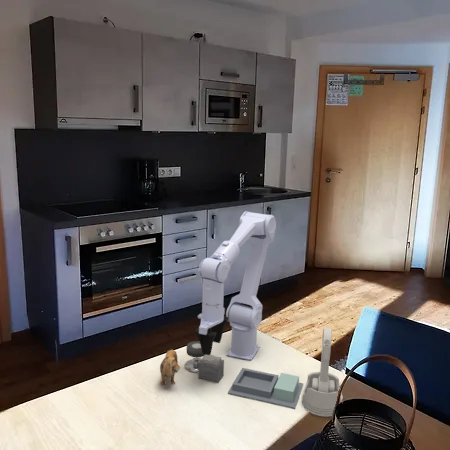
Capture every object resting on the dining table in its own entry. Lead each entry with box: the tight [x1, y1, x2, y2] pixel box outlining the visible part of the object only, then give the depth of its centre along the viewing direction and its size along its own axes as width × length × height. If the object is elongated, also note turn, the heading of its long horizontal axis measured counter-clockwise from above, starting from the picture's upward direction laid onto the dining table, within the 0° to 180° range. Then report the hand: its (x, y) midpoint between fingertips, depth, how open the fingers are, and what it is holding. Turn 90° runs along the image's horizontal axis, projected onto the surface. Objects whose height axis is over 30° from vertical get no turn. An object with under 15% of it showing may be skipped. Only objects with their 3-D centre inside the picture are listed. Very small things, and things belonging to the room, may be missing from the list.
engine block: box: [197, 354, 225, 384], centre depth 131 cm, size 4×6×6 cm
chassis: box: [227, 367, 304, 410], centre depth 126 cm, size 12×18×3 cm, turn 71°
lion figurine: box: [159, 349, 181, 386], centre depth 130 cm, size 15×5×9 cm, turn 8°
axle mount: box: [184, 357, 202, 374], centre depth 137 cm, size 7×7×2 cm
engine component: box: [301, 326, 344, 417], centre depth 119 cm, size 11×20×10 cm
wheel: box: [186, 340, 205, 358], centre depth 136 cm, size 6×6×2 cm
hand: (211, 347), depth 130 cm, fingers open, 7 cm apart
